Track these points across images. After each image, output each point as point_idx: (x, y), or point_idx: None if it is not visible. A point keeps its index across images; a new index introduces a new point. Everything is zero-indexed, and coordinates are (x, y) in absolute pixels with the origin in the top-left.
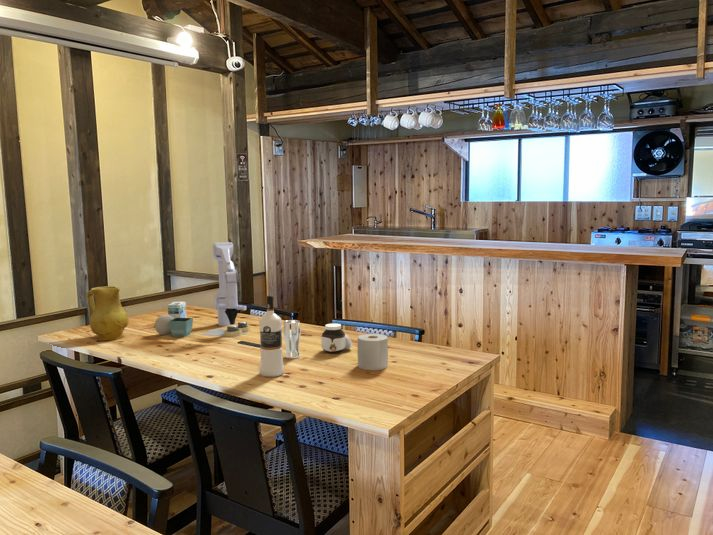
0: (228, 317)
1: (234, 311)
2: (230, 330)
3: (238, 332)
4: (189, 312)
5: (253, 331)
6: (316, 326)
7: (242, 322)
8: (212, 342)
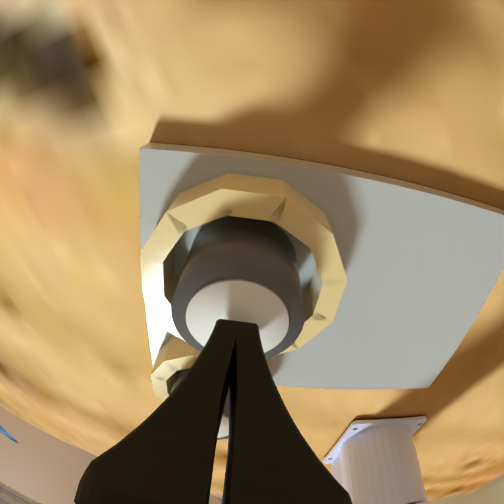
0: (271, 405)
1: (77, 489)
2: (239, 241)
3: (150, 238)
4: (478, 475)
5: None
6: (5, 408)
7: None
8: (369, 14)
